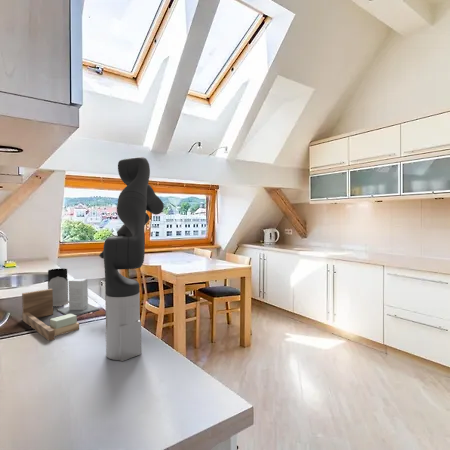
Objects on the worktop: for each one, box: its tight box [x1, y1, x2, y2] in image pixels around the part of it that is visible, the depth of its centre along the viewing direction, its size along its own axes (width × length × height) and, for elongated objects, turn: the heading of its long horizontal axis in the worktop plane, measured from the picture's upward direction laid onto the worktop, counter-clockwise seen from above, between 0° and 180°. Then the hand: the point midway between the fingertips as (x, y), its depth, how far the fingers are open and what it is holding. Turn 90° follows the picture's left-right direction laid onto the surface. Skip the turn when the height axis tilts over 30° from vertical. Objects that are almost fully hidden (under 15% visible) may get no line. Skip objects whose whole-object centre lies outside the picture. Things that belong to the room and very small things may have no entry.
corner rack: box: [21, 288, 55, 342], centre depth 112 cm, size 28×10×10 cm, turn 47°
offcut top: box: [49, 314, 78, 329], centre depth 107 cm, size 4×7×2 cm, turn 145°
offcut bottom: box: [48, 322, 80, 337], centre depth 107 cm, size 5×8×2 cm, turn 141°
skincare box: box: [68, 278, 89, 310], centre depth 130 cm, size 6×4×12 cm
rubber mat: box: [57, 303, 100, 316], centre depth 130 cm, size 12×12×1 cm
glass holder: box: [47, 268, 69, 307], centre depth 141 cm, size 9×14×15 cm, turn 28°
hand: (105, 258), depth 132 cm, fingers open, 8 cm apart
